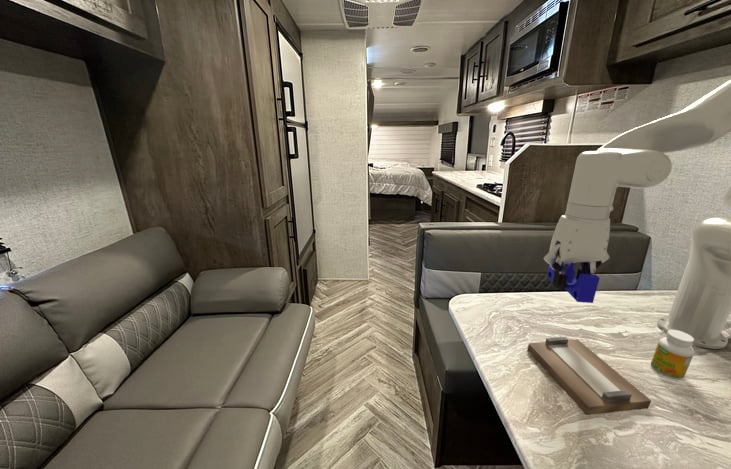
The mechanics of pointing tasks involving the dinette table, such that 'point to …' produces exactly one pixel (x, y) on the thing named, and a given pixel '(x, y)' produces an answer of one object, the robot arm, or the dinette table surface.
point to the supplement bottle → (673, 355)
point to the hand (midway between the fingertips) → (569, 286)
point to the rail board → (587, 377)
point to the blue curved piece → (578, 284)
